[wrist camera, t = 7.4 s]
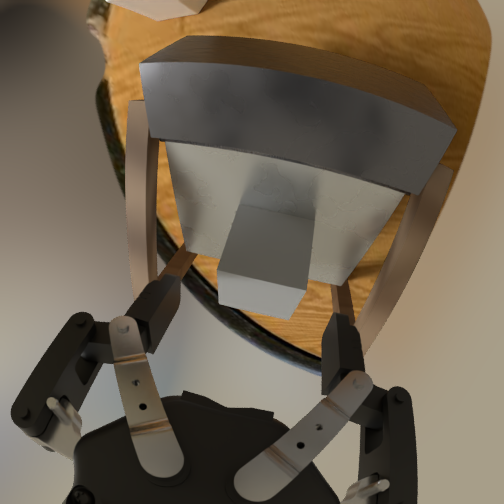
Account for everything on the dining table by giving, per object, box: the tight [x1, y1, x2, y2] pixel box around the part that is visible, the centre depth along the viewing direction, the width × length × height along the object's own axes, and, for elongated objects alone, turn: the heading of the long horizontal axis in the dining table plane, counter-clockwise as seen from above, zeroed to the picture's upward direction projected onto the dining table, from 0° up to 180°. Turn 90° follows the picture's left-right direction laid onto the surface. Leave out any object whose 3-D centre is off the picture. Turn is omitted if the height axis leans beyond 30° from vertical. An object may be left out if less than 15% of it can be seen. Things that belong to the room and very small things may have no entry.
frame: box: [125, 100, 454, 357], centre depth 22 cm, size 17×18×13 cm
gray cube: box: [217, 204, 315, 320], centre depth 19 cm, size 5×5×5 cm
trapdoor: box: [139, 36, 457, 286], centre depth 17 cm, size 18×15×5 cm
